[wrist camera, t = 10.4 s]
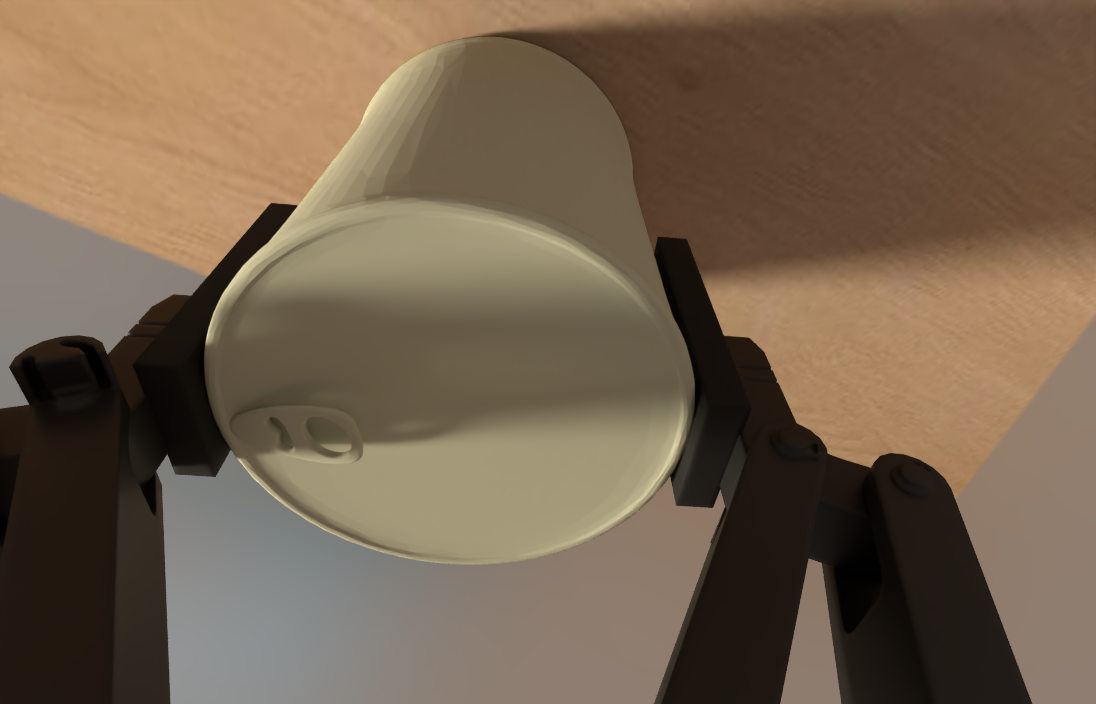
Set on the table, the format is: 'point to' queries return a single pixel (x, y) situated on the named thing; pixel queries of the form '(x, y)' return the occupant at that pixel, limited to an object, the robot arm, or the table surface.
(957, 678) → the robot arm
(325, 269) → the can
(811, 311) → the table surface
